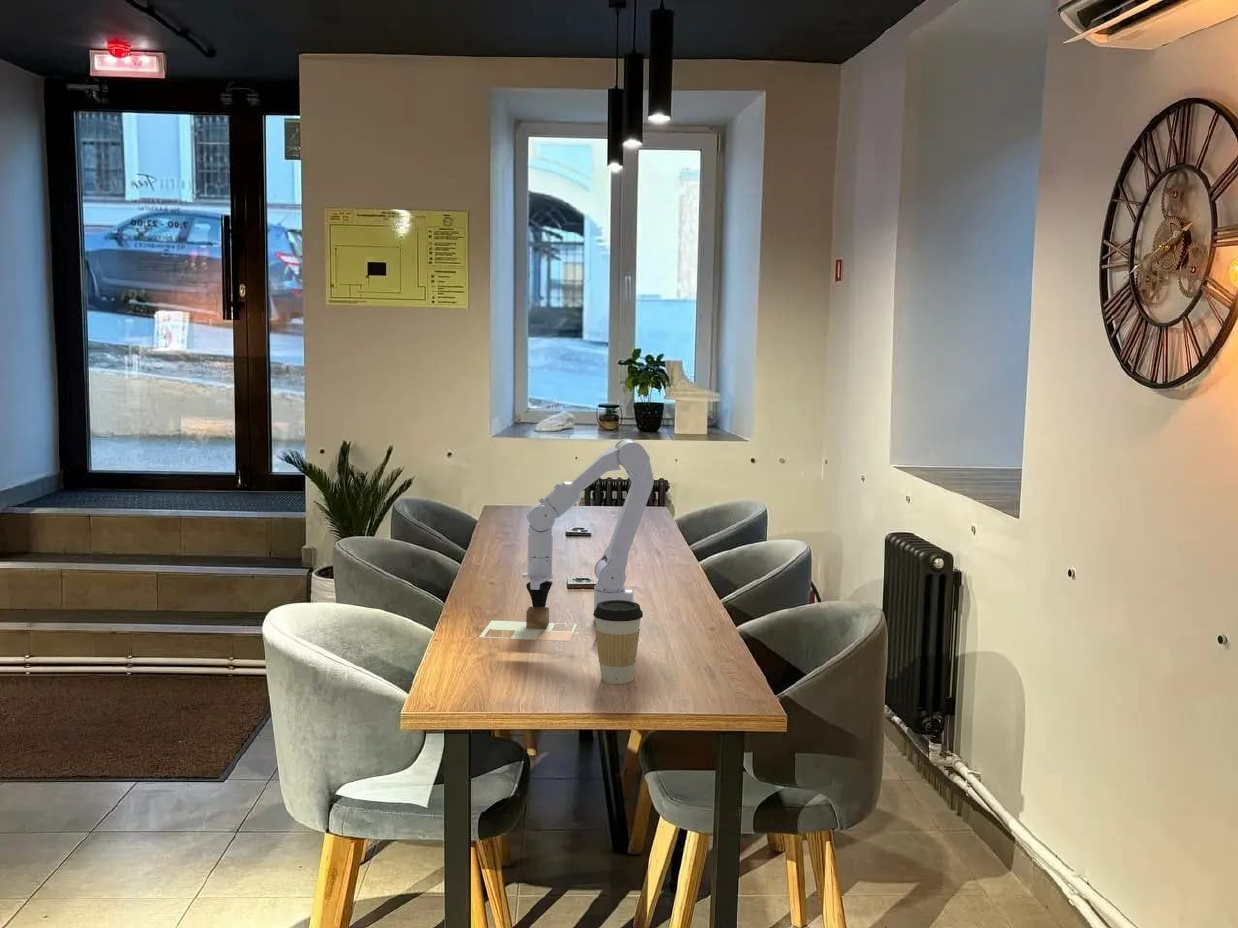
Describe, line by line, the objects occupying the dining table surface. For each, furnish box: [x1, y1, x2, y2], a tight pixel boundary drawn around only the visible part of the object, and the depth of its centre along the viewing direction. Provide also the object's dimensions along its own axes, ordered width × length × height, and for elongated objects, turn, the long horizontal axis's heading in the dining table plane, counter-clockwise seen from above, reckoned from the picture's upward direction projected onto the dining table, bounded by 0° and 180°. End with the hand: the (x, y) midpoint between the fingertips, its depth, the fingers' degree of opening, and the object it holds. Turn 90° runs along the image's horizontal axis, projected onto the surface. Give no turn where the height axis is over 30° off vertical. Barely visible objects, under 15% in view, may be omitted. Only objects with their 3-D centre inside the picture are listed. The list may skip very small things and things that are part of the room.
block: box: [525, 606, 550, 630], centre depth 241 cm, size 4×4×4 cm
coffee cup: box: [593, 600, 644, 685], centre depth 209 cm, size 10×10×15 cm
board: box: [478, 620, 578, 642], centre depth 238 cm, size 20×14×2 cm
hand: (539, 613), depth 246 cm, fingers closed
